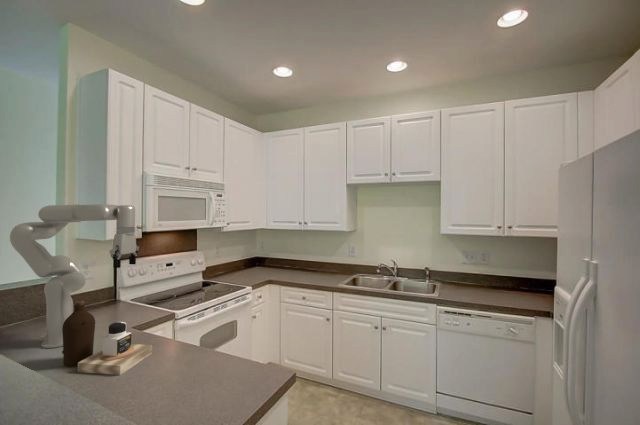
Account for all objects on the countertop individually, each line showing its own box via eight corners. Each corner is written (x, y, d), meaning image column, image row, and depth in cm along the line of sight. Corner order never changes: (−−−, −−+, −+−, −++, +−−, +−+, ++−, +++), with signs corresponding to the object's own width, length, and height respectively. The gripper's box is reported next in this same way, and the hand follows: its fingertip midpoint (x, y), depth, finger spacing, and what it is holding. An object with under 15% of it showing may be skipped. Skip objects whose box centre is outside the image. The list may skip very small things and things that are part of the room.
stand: (77, 371, 114) (77, 361, 114) (114, 350, 132) (114, 341, 132) (120, 375, 112) (120, 364, 112) (152, 353, 130) (152, 344, 130)
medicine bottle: (117, 357, 118) (117, 327, 118) (102, 355, 119) (102, 325, 119) (131, 349, 125) (132, 320, 125) (117, 347, 126) (117, 319, 126)
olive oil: (100, 356, 127) (102, 298, 127) (78, 368, 116) (79, 305, 116) (78, 354, 128) (79, 297, 128) (54, 367, 117) (55, 304, 117)
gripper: (131, 229, 152) (131, 262, 152) (103, 231, 135) (102, 268, 134) (145, 230, 151) (144, 263, 151) (118, 231, 134) (117, 269, 134)
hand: (124, 265), depth 143 cm, fingers open, 9 cm apart
